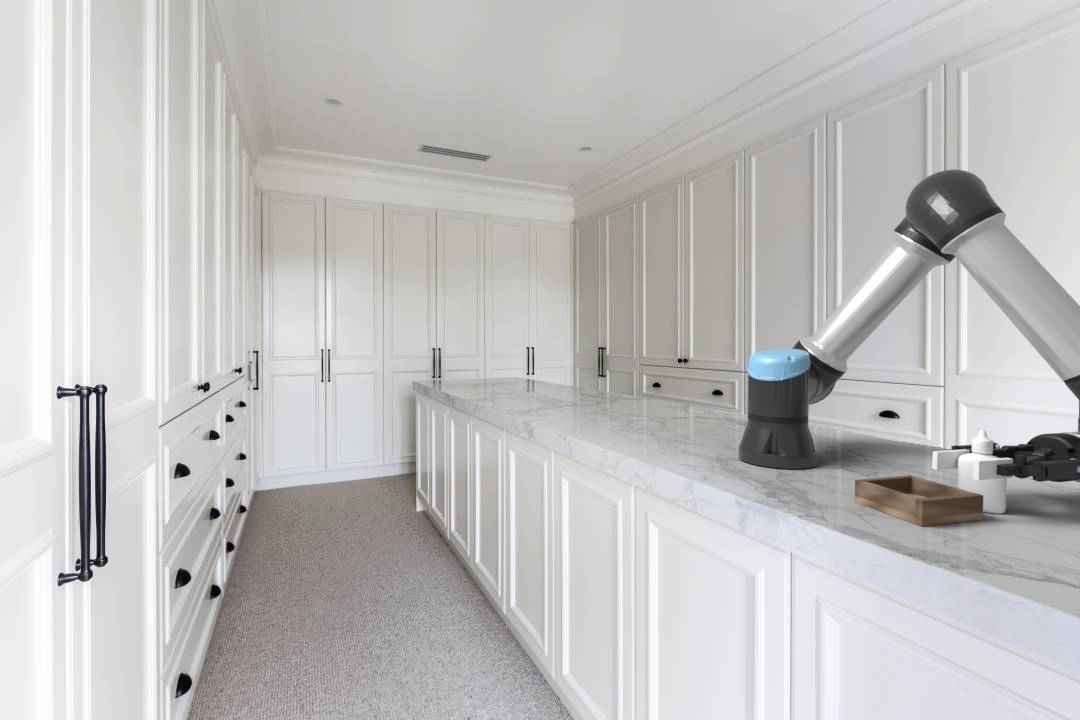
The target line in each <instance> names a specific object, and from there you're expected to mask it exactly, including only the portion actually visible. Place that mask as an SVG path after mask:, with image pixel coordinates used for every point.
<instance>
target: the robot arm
mask: <svg viewBox="0 0 1080 720" xmlns="http://www.w3.org/2000/svg"><path fill="white" fill-rule="evenodd" d="M1006 217H1007V214H1006V212H1004V211H1003V209H1002V208H1001V207H1000V206H999V205H998V204H997V202H996V201H995V200H994V198H993V197H992V196H991V194H990V192H989V191H988V189H987V185H986V184H985V182H984V181H983V180H982V178H980V177H978V176H977V175H976V174H974V173H973V172H970V171H966V170H962V169H946V170H941V171H937V172H934V173H933V174H930V175H927V177H925V178H923V179H922V180H921V181H919V182H918V183H917V184H916V185H915V186H914V188H913V189H912V190H911V191H910V193H909V195H908V196H907V199H906V203H905V217H903V219H902V220H901V221H900V222H899V223H898V224H897V226H896V227H895V228H894V229H893V231H892V244H891V245H890V247H889V248H888V249H886V251H885V252H884V253H883V254H882V256H881V257H880V258H879V259H877V260H876V262H875V264H874V265H873V266H871V268H870V269H869V271H867V273H866V274H865V275H864V276H863V277H862V278H861V279H860V280H859V282H858V283H857V284H855V286H854V287H853V289H852V290H851V291H850V292H849V293H848V294H847V295H846V296H845V297H844V298H843V300H842V301H841V302H840V303H839V305H838V306H837V307H836V308H835V309H834V311H832V312H831V314H830V315H829V316H828V317H827V318H826V320H825V321H824V322H823V323H822V324H821V325H820V326H819V328H818V329H817V330H816V331H815V332H814V333H813V334H812V336H807V337H801V338H800V339H799V340H797V342H796V343H795V344H794V345H793V346H792V348H773V349H769V350H768V349H763V350H759V351H756V352H754V353H752V354H751V355H750V356H749V358H748V367H747V423H746V426H745V429H744V431H743V434H742V437H741V441H740V443H739V445H738V451H737V452H738V454H737V457H738V459H739V460H740V461H742V462H745V463H748V464H751V465H756V466H761V467H764V468H765V467H767V468H773V469H775V468H776V469H786V470H788V469H789V470H799V469H802V470H803V469H811V468H814V467H816V466H817V465H818V452H817V450H816V448H815V445H814V440H813V437H812V433H811V431H810V428H809V410H810V409H809V408H810V405H814V404H817V403H819V402H821V401H824V400H825V399H826V398H828V396H830V395H831V393H832V392H833V390H834V389H835V386H836V383H837V382H838V381H839V380H840V379H841V377H842V376H843V375H844V374H845V373H846V372H847V371H848V365H847V364H848V363H847V362H848V359H850V357H851V356H852V355H853V354H854V353H855V352H857V349H858V348H860V346H861V345H863V343H864V342H865V341H866V340H867V339H868V338H869V337H870V336H871V335H872V334H873V333H874V332H875V331H876V330H877V329H878V327H879V326H880V325H881V324H883V322H884V321H885V320H886V319H887V318H888V317H889V316H890V315H891V314H892V312H894V311H895V309H896V308H897V307H898V306H899V305H900V304H901V303H902V302H903V301H904V300H905V298H907V297H908V295H910V293H911V292H913V290H914V289H915V288H916V287H917V286H918V285H919V284H920V283H921V281H922V280H924V279H925V277H927V275H928V274H929V273H930V272H931V271H932V270H933V269H934V268H935V267H938V266H945V265H949V264H950V263H951V262H952V261H953V260H954V259H955V258H956V259H957V260H958V261H959V263H960V264H961V265H962V266H963V268H964V269H965V270H966V271H967V272H968V273H969V275H970V276H971V277H972V278H973V279H974V280H975V282H976V283H977V284H978V285H979V286H980V287H981V289H983V291H984V292H985V293H986V294H987V295H988V297H989V298H990V299H991V300H992V301H993V302H994V303H995V304H996V305H997V307H998V308H999V309H1000V310H1001V312H1003V314H1004V315H1005V316H1006V317H1007V318H1008V319H1009V320H1010V322H1011V323H1012V324H1013V326H1015V327H1016V329H1017V330H1018V331H1019V332H1020V334H1021V335H1023V337H1024V338H1025V339H1026V340H1027V341H1028V342H1029V344H1030V345H1031V346H1032V347H1033V348H1034V349H1035V351H1036V352H1037V353H1038V355H1039V356H1041V358H1042V359H1043V360H1044V361H1045V362H1046V363H1047V365H1048V366H1050V368H1051V369H1052V370H1053V371H1054V372H1055V374H1056V375H1057V376H1058V377H1059V378H1060V380H1061V381H1062V382H1063V383H1064V384H1065V385H1066V387H1067V388H1068V389H1069V390H1070V391H1071V393H1072V394H1073V395H1074V397H1076V399H1078V418H1077V431H1066V432H1065V431H1064V432H1063V431H1062V432H1057V433H1056V432H1055V433H1054V432H1053V433H1052V432H1051V433H1043V434H1038V435H1036V436H1034V437H1032V438H1031V439H1030V440H1029V441H1028V442H1026V443H1019V444H1018V445H1002V446H1001V444H999V443H997V442H994V441H993V454H992V455H993V456H996V457H999V458H997V459H984V460H974V464H973V479H975V480H988V479H999V478H1007V479H1008V478H1013V477H1015V478H1018V479H1028V478H1030V477H1032V480H1034V481H1036V482H1039V483H1040V482H1048V481H1049V482H1051V483H1053V482H1054V483H1064V482H1065V483H1066V482H1073V481H1074V482H1076V483H1080V305H1079V303H1078V302H1077V301H1076V300H1075V299H1074V298H1073V297H1072V296H1071V295H1070V294H1069V292H1067V290H1066V289H1065V288H1064V287H1063V286H1062V285H1061V284H1060V283H1059V282H1058V281H1057V280H1056V278H1055V277H1054V276H1053V275H1052V274H1051V273H1050V272H1049V271H1048V269H1046V268H1045V266H1043V264H1042V263H1041V262H1040V261H1039V260H1038V259H1037V258H1036V257H1035V256H1034V255H1033V254H1032V252H1031V251H1030V250H1028V248H1026V247H1027V246H1025V245H1024V244H1023V242H1021V241H1020V240H1019V239H1018V237H1017V236H1016V235H1015V234H1014V233H1013V232H1012V231H1011V230H1010V229H1009V228H1008V227H1007V225H1005V221H1006ZM968 453H972V444H963V445H960V444H959V445H951V449H950V450H949V449H948V450H937V451H935V450H934V451H932V461H931V462H932V463H931V464H932V465H931V469H932V470H935V471H940V470H941V471H943V470H955V469H956V470H957V466H958V458H959V456H961V455H963V454H968Z"/></svg>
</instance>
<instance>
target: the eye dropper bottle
mask: <svg viewBox="0 0 1080 720" xmlns="http://www.w3.org/2000/svg"><path fill="white" fill-rule="evenodd" d="M993 442H994V440H993V439H991V438H990V437H988V434H987V431H986V430H985V429H980V430H979V432H978V435H977V436H976V437H973V438H971V445H972V453H968V454H963V455H961V456H959V458H958V466H957V468H956V470H957V471H956V488H958V489H962V490H966V491H969V492H973V493H977V494H980V495H983V513H985V514H986V513H988V514H996V515H997V514H1000V515H1001V514H1005V512H1006V508H1007V479H1008V478H999V479H988V480H975V479H973V464H974V460H984V459H997V458H999V457H996V456H993V455H992V454H993Z"/></svg>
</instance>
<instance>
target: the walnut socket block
mask: <svg viewBox="0 0 1080 720" xmlns="http://www.w3.org/2000/svg"><path fill="white" fill-rule="evenodd" d="M854 502H855V503H856V504H859V505H862V506H865V507H867V508H870V509H873V510H875V511H878V512H881V513H884V514H887V515H890V516H892V517H894V518H898V519H901V520H903V521H905V522H909V523H910V524H911V523H912V524H913V525H916V526H919V527H929V526H939V525H946V524H947V523H948V524H956V523H963V522H964V523H965V522H972V521H980V520H981V521H983V516H984V514H983V513H984V512H983V495H980V494H977V493H973V492H969V491H966V490H962V489H958V488H957V487H955V486H951V485H946V484H943V483H940V482H936V481H932V480H929V479H925V478H921V477H918V476H914V475H901V476H899V475H897V476H887V477H874V478H863V479H860V478H859V479H854ZM954 522H956V523H954ZM938 524H939V525H938ZM948 524H947V525H948Z"/></svg>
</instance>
